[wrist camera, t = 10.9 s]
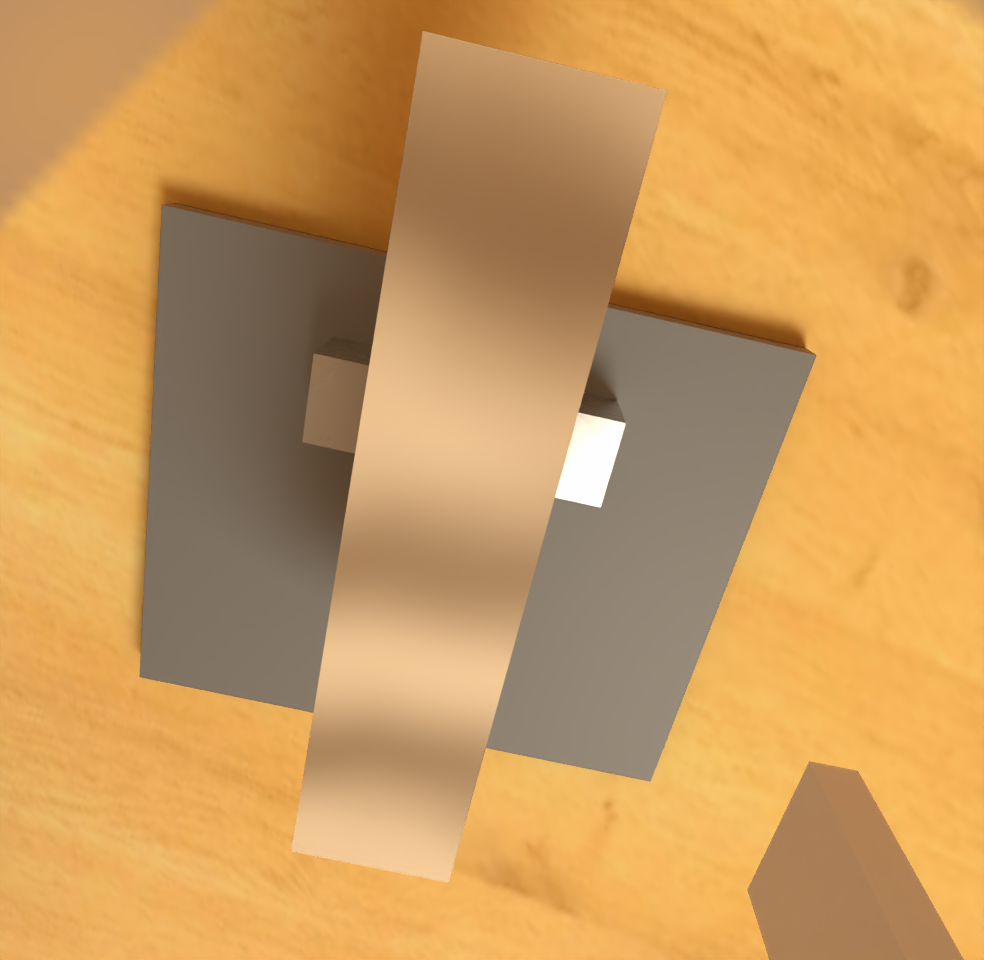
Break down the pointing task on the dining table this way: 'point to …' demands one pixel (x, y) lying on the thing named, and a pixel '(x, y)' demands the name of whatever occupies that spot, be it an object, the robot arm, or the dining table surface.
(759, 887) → the robot arm
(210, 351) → the slate board
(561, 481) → the fulcrum ridge
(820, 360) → the dining table surface
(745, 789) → the dining table surface
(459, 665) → the beech bar
